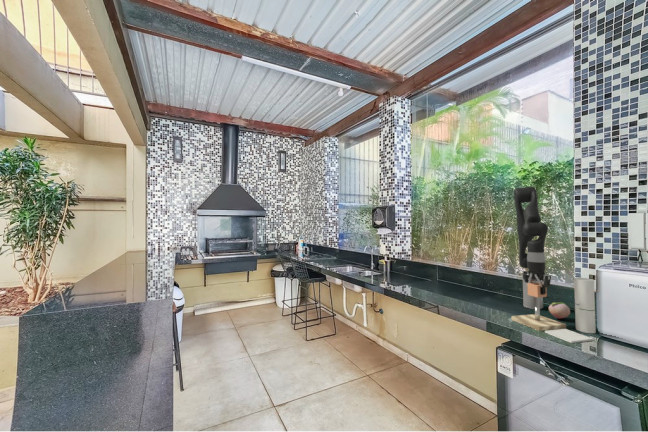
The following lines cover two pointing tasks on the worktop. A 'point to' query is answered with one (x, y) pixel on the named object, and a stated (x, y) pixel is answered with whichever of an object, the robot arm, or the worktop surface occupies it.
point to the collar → (535, 290)
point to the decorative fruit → (559, 310)
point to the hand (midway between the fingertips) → (537, 292)
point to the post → (537, 313)
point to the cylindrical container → (584, 305)
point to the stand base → (539, 322)
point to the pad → (568, 335)
